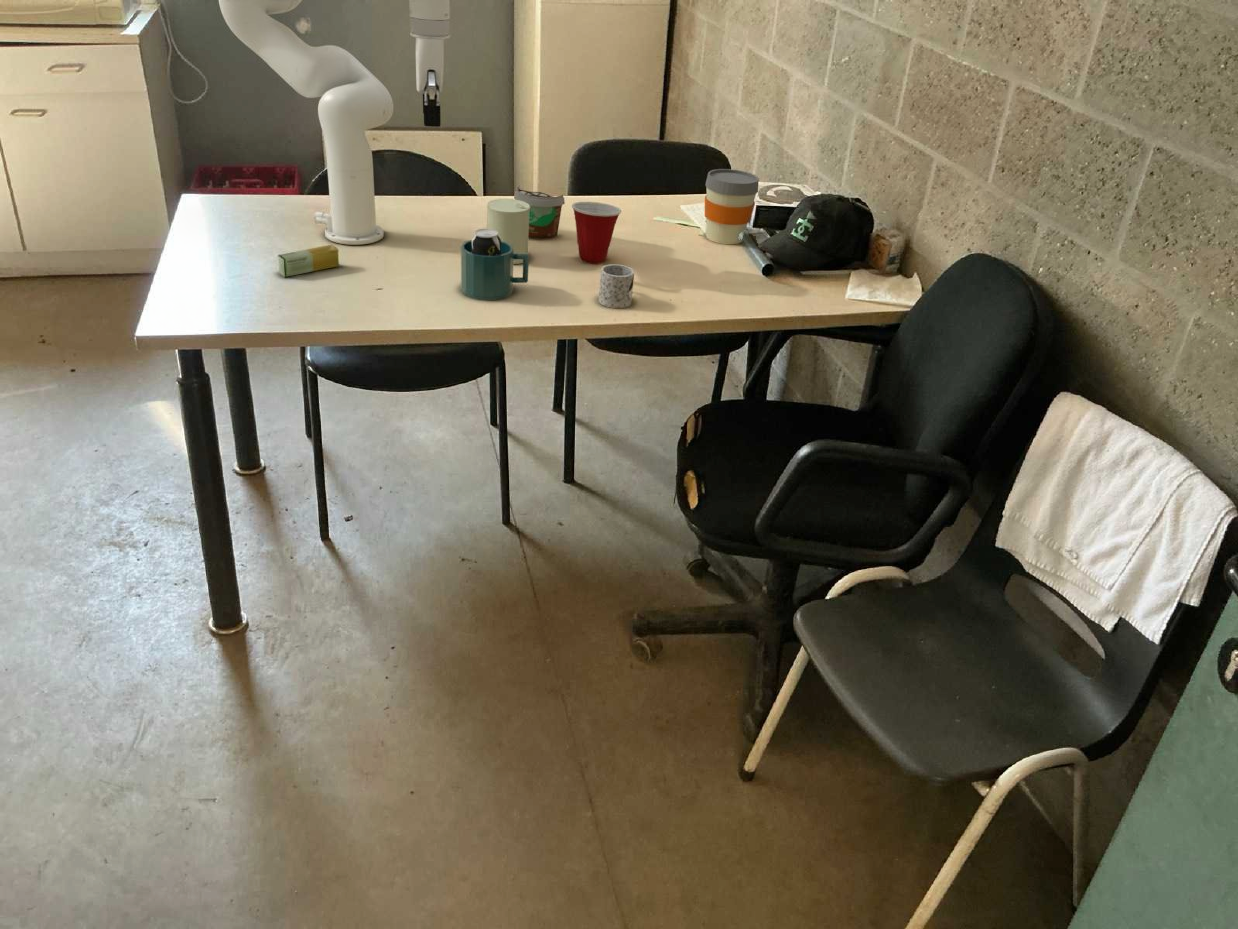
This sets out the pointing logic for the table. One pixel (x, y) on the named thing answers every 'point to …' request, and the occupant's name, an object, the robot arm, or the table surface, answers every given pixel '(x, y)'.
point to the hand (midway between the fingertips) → (431, 120)
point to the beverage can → (486, 242)
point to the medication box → (308, 260)
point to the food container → (542, 213)
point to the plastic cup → (594, 229)
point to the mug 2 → (616, 286)
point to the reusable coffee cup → (729, 204)
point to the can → (510, 223)
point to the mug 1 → (490, 272)
